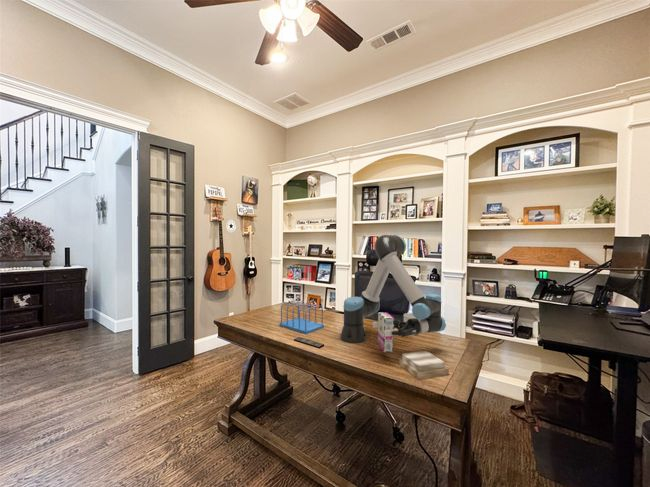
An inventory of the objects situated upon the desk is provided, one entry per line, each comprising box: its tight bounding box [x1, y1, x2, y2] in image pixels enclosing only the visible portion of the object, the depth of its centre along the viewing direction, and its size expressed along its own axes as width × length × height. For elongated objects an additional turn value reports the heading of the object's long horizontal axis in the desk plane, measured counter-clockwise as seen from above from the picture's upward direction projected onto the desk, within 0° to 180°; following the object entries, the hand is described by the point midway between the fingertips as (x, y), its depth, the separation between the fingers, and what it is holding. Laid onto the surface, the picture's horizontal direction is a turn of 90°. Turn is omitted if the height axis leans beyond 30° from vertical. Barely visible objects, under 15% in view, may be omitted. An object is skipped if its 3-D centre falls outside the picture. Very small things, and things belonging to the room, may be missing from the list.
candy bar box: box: [377, 311, 395, 353], centre depth 135 cm, size 11×5×16 cm, turn 5°
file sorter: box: [279, 300, 325, 335], centre depth 182 cm, size 25×17×15 cm
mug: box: [403, 312, 416, 336], centre depth 172 cm, size 12×9×11 cm
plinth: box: [398, 350, 450, 380], centre depth 122 cm, size 15×15×5 cm
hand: (378, 329), depth 134 cm, fingers closed on candy bar box, 12 cm apart
